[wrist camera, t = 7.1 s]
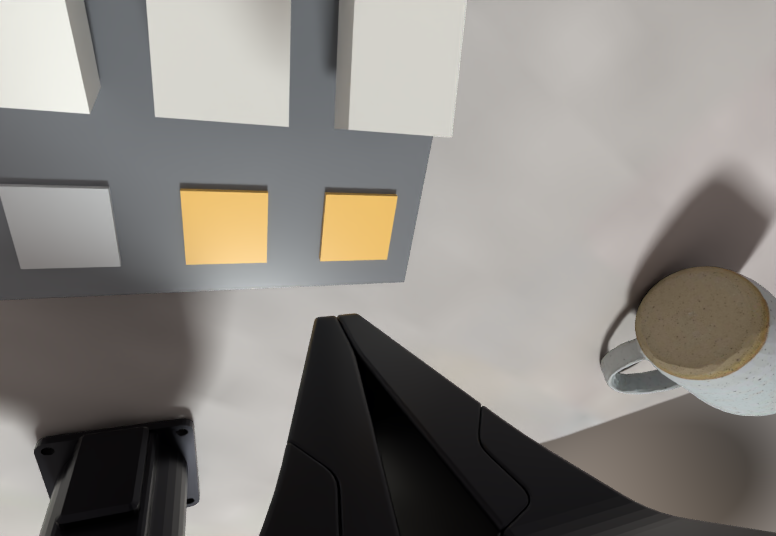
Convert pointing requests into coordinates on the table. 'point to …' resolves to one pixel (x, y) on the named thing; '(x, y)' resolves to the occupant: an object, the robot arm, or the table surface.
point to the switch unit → (201, 183)
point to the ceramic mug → (703, 341)
